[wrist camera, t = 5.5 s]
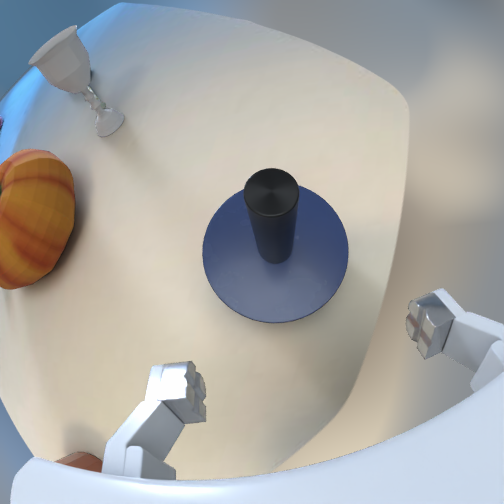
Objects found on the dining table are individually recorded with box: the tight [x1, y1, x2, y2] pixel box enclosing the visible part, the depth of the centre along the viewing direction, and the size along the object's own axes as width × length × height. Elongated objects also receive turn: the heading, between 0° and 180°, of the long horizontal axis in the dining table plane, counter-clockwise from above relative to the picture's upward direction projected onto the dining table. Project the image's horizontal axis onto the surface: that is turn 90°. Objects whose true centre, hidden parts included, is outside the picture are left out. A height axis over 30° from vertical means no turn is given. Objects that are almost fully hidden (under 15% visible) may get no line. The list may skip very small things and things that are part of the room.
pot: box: [54, 452, 103, 473], centre depth 17 cm, size 10×10×10 cm
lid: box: [202, 168, 348, 323], centre depth 17 cm, size 11×11×10 cm
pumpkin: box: [0, 149, 75, 290], centre depth 25 cm, size 19×19×15 cm
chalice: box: [29, 26, 124, 137], centre depth 27 cm, size 7×7×18 cm
